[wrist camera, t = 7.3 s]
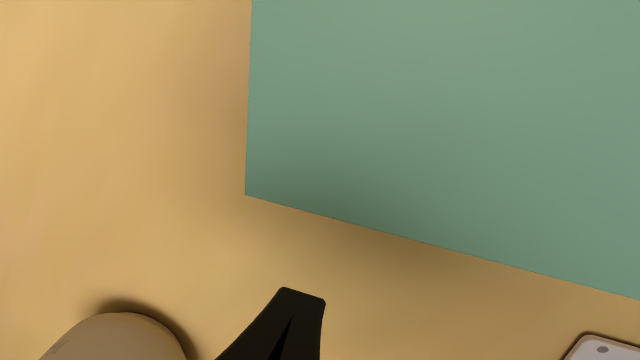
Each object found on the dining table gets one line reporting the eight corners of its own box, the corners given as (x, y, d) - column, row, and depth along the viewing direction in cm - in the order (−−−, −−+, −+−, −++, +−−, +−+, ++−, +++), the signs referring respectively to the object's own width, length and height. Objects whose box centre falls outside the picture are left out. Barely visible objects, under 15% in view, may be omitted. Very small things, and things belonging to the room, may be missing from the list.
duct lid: (882, 3, 9) (920, 6, 8) (640, 287, 14) (651, 303, 13) (265, -89, 11) (255, -93, 11) (252, 185, 16) (244, 194, 16)
